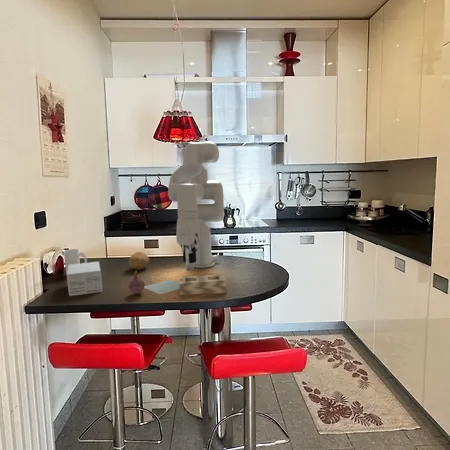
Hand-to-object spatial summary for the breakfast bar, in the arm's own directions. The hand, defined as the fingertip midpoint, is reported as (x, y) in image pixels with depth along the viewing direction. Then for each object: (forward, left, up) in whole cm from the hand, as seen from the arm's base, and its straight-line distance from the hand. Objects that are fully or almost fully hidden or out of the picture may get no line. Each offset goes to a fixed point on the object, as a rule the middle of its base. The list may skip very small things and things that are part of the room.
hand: (189, 261), depth 150 cm
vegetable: (+17, -13, -13) cm, 25 cm away
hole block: (-4, +2, -12) cm, 13 cm away
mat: (+4, -13, -12) cm, 18 cm away
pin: (0, 0, -3) cm, 3 cm away
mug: (+22, -63, -13) cm, 68 cm away
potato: (-4, -49, -13) cm, 51 cm away
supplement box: (+28, -38, -13) cm, 49 cm away
